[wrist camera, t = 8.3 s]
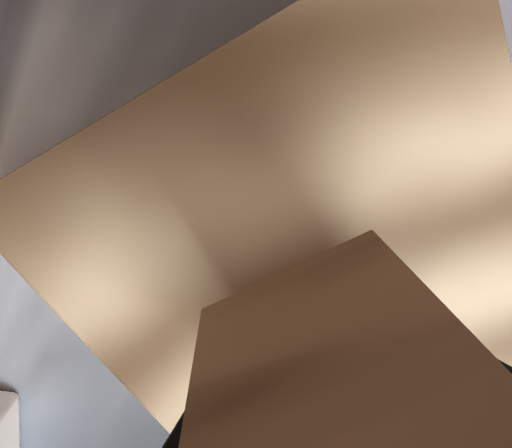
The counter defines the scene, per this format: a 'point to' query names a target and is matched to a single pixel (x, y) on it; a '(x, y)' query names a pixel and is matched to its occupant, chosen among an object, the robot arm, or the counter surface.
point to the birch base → (278, 180)
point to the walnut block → (343, 363)
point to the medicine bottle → (9, 420)
